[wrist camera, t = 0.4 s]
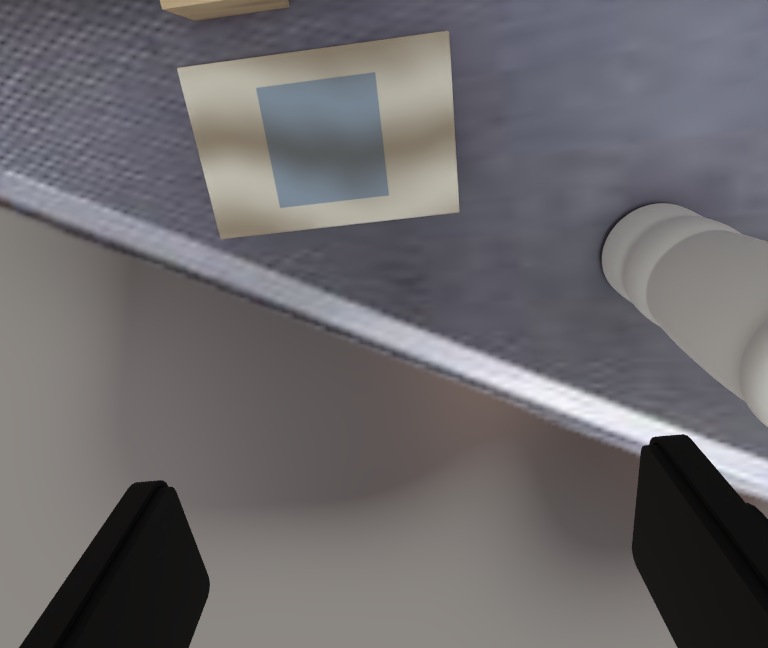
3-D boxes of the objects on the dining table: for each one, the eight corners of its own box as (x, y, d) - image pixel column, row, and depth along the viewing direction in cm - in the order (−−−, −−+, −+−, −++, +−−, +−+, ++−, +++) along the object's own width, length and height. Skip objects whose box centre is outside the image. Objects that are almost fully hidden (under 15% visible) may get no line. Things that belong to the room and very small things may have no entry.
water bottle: (700, 282, 38) (1158, 568, 15) (603, 305, 39) (896, 607, 16) (696, 188, 35) (1253, 366, 12) (593, 216, 36) (930, 428, 13)
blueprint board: (183, 68, 33) (176, 68, 32) (447, 32, 31) (449, 30, 31) (225, 235, 37) (220, 239, 36) (457, 209, 36) (459, 212, 35)
